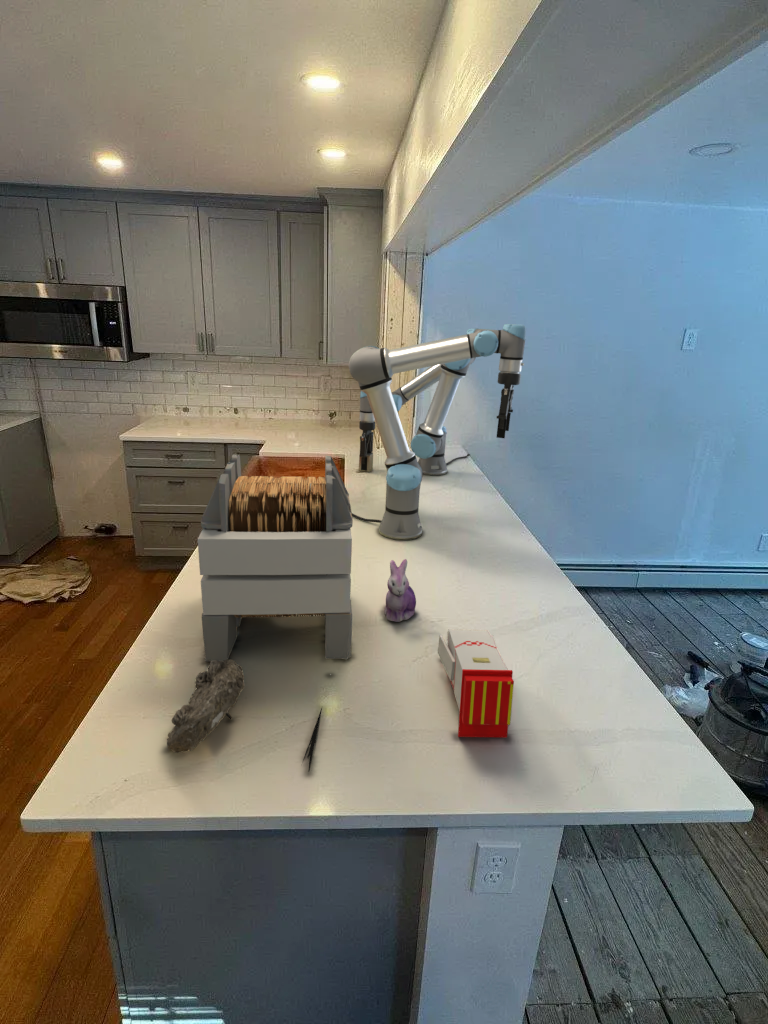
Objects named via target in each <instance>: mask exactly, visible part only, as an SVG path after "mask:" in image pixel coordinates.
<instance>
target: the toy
mask: <svg viewBox="0 0 768 1024" xmlns="http://www.w3.org/2000/svg"><path fill="white" fill-rule="evenodd" d="M446 640H447V643H446V641H445V639H444V636H443V635H442V634H439V637H438V646H437V656H438V657H439V659H440V661H441V663H442V666H443V668H444V670H445V672H446V674H447V677H448V679H449V681H450V684H451V687H452V690H453V693H454V697H455V701H456V705H457V708H458V711H459V714H458V715H459V716H458V730H457V731H458V732H457V737H458V738H508V731H509V726H510V725H511V717H512V707H513V697H514V696H513V695H514V684H515V680H514V679H513V673H514V671H513V670H512V669H508V667H507V665H506V662H505V661H504V659H503V658H502V655H501V653H500V651H499V649H498V647H497V643H496V639H495V637H494V635H493V634H491V632H490V631H489V629H467V628H466V629H465V628H463V629H461V628H460V629H459V628H448V630H447V639H446Z"/></svg>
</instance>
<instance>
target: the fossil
mask: <svg viewBox="0 0 768 1024" xmlns="http://www.w3.org/2000/svg"><path fill="white" fill-rule="evenodd" d="M243 670H244V669H243V667H242V665H240V664H237V662H236V661H235V660H234V659H232V658H231V659H229V658H228V659H227V660H224V661H217V660H212V661H211V662H209V665H208V666H207V671H201V672H199V673H198V674H197V675H196V676H195V680H194V684H195V685H194V687H195V689H194V690H193V693H192V694H191V697H190V698H189V700H188V704H184V705H182V706H181V707H180V709H177V710H176V711H175V713H174V715H173V716H172V718H171V723H172V724H173V727H172V730H171V731H170V732H168V734H167V738H166V741H167V742H166V745H167V749H168V750H169V751H173V752H174V753H176V754H178V753H182V752H188V751H189V752H192V751H193V750H195V748H196V747H197V746H199V744H200V743H201V742H203V741H204V740H205V739H206V738H207V737H208V736H209V735H210V734H211V733H212V732H214V730H215V729H217V727H218V726H219V724H220V722H221V721H222V720H223V719H224V718H225V716H226V717H227V719H229V720H233V717H232V715H230V714H229V710H230V709H231V708H234V706H235V704H236V703H237V702H238V699H239V697H240V695H241V693H242V691H243V690H245V689H244V688H245V675H244V671H243Z"/></svg>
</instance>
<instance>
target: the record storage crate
mask: <svg viewBox="0 0 768 1024" xmlns="http://www.w3.org/2000/svg"><path fill="white" fill-rule="evenodd" d="M324 457H325V458H324V459H325V461H324V462H325V463H324V464H325V465H324V468H325V469H324V476H318V477H316V476H307V477H303V476H288V475H287V476H280V477H279V476H274V475H270V476H268V475H259V476H258V475H255V476H254V475H250V476H247V475H242V466H241V456H240V454H231V457H230V459H229V462H227V463H226V466H225V467H224V470H223V472H222V474H220V476H219V478H218V480H217V482H216V484H215V487H214V488H213V491H212V493H211V496H210V498H209V500H208V502H207V505H206V507H205V509H204V511H203V513H202V516H201V518H200V527H201V532H200V533H199V535H198V537H197V550H198V565H199V576H202V577H201V579H200V590H201V591H200V592H201V606H202V607H201V608H202V613H201V626H202V627H201V629H202V640H203V646H204V658H203V660H204V662H208V663H210V662H211V661H212V660H217V661H222V662H223V661H224V660H227V659H228V660H229V658H230V655H231V653H232V650H233V648H234V645H235V643H236V640H237V638H238V628H240V625H241V621H242V619H243V618H282V617H283V618H289V617H290V618H293V617H297V618H298V617H314V616H315V617H320V616H321V617H324V653H325V654H324V655H325V660H338V659H339V660H348V659H350V658H352V644H353V643H352V641H353V639H352V638H353V610H352V600H351V588H352V587H351V586H352V582H351V581H352V577H351V574H352V553H353V552H352V548H353V547H352V546H353V537H352V530H351V528H352V527H353V523H354V520H353V516H352V506H351V501H350V500H351V499H350V494H349V491H348V489H347V487H346V485H345V483H344V481H343V478H342V477H341V474H340V472H339V470H338V468H337V466H336V463H335V461H334V460H333V457H332V455H328V454H327V455H326V454H325V456H324Z"/></svg>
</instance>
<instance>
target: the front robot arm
mask: <svg viewBox="0 0 768 1024" xmlns="http://www.w3.org/2000/svg"><path fill="white" fill-rule="evenodd" d="M526 335H527V327H526V326H525V325H524V324H516V323H515V324H514V323H512V324H511V323H505V324H503V327H502V329H489V328H487V329H486V328H469V329H467V331H466V334H461V335H457V336H450V337H447V338H441V339H438V340H432V341H427V342H422V343H417V344H412V345H407V346H402V347H398V348H393V349H388V348H387V347H381V348H380V347H377V346H374V345H367V346H363V347H361V348H359V349H358V350H357V349H356V351H355V352H353V353H352V355H351V356H350V358H349V361H348V370H349V374H350V375H351V377H352V378H353V380H355V381H356V382H357V383H358V386H359V391H360V392H361V391H362V392H364V393H366V394H367V397H368V400H369V403H370V406H371V410H372V413H373V416H374V419H375V421H374V422H375V426H376V428H377V431H378V434H379V437H380V440H381V443H382V446H383V449H384V452H385V455H386V459H385V461H384V466H385V468H386V475H385V481H386V486H385V487H386V488H385V504H384V505H385V507H384V508H385V509H384V513H383V515H382V519H375V518H364V517H361V516H359V515H357V514H355V513H352V518H354V519H357V520H359V521H362V522H368V523H377V524H378V523H379V526H378V533H379V534H380V535H381V536H382V537H385V538H387V539H389V540H395V541H410V540H415V539H418V538H420V537H421V536H422V535H423V524H422V521H421V518H420V515H419V507H420V506H419V505H420V491H421V483H422V480H423V474H422V469H421V467H420V465H419V464H418V458H417V456H416V455H415V453H414V452H412V450H410V447H409V444H408V440H407V437H406V434H405V431H404V428H403V425H402V422H401V418H400V415H399V411H397V409H396V405H395V402H394V399H393V396H392V389H391V384H392V382H393V378H392V377H393V376H394V375H395V374H400V373H404V372H409V371H415V370H419V369H424V368H425V369H426V368H429V367H431V366H435V365H440V364H445V363H450V362H455V361H460V360H465V359H470V358H481V357H484V358H487V357H489V356H492V355H493V354H499V355H500V356H499V364H498V371H499V372H498V374H497V383H498V384H499V385H503V388H502V389H501V391H500V405H499V411H498V415H496V420H497V419H498V421H497V428H496V429H497V430H496V436H495V437H496V438H497V439H505V438H506V432H509V430H510V421H511V414H512V413H514V409H513V407H512V406H513V398H514V393H515V389H514V387H515V386H518V385H519V386H520V384H521V378H522V377H521V376H522V374H521V372H522V367H523V366H525V362H523V359H524V351H525V345H526V340H527V339H526V337H527V336H526Z"/></svg>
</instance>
